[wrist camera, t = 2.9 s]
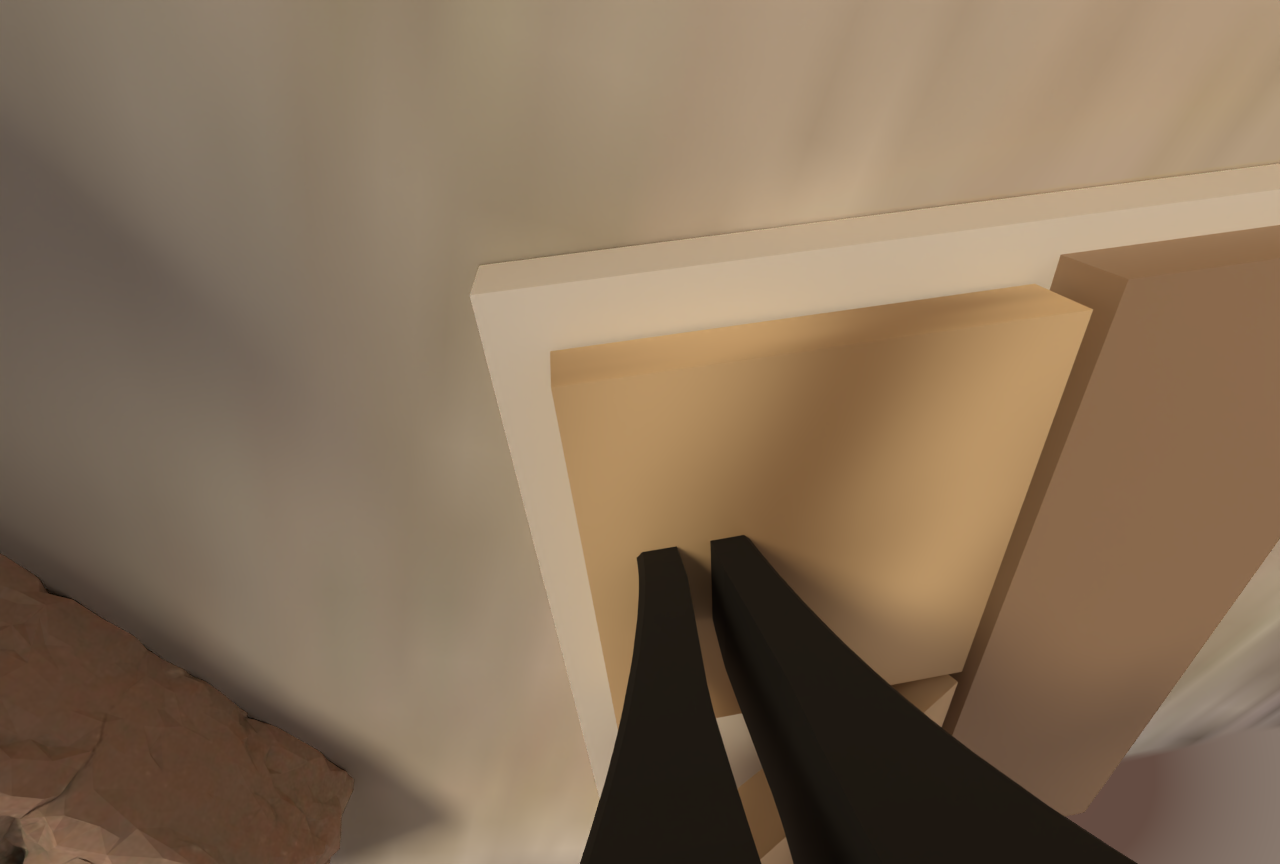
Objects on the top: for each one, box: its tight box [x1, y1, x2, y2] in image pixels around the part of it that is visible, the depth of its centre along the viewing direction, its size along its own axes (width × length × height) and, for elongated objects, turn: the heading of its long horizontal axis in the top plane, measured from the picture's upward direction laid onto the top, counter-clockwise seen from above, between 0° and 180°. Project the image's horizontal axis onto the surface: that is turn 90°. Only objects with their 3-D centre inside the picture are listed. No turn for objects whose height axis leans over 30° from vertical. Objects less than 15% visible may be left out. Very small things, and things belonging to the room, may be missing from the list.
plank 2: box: [738, 674, 958, 864], centre depth 15 cm, size 8×9×1 cm
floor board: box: [470, 163, 1280, 817], centre depth 14 cm, size 16×20×3 cm
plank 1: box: [550, 284, 1093, 728], centre depth 11 cm, size 8×9×1 cm
